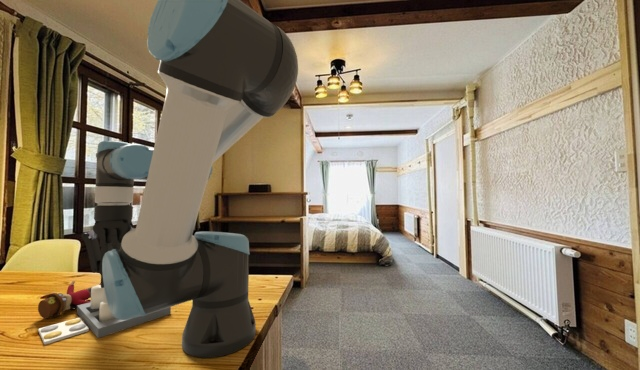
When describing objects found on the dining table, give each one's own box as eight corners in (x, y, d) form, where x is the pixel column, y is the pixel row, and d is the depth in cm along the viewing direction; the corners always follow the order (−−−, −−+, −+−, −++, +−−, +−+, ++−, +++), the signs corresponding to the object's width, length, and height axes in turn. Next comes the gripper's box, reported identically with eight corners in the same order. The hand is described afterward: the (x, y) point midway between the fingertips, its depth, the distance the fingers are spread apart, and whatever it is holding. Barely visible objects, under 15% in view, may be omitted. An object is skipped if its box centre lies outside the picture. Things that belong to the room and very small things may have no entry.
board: (170, 313, 69) (170, 306, 69) (98, 338, 57) (98, 328, 57) (141, 296, 81) (141, 289, 81) (76, 313, 69) (77, 305, 69)
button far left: (112, 305, 69) (113, 286, 69) (92, 310, 65) (93, 290, 66) (107, 301, 71) (108, 282, 71) (88, 306, 68) (89, 286, 68)
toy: (122, 288, 78) (63, 313, 63) (112, 306, 79) (52, 335, 64) (96, 266, 80) (33, 285, 65) (87, 284, 81) (23, 306, 66)
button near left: (122, 322, 64) (123, 301, 64) (101, 328, 60) (102, 306, 61) (116, 317, 66) (117, 297, 66) (96, 323, 63) (97, 302, 63)
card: (88, 331, 60) (88, 327, 60) (44, 344, 54) (44, 341, 54) (79, 319, 65) (79, 316, 65) (38, 331, 60) (38, 327, 60)
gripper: (150, 203, 69) (147, 293, 68) (96, 203, 67) (92, 296, 66) (134, 204, 62) (130, 305, 61) (73, 204, 60) (68, 308, 59)
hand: (110, 300), depth 64 cm, fingers closed
